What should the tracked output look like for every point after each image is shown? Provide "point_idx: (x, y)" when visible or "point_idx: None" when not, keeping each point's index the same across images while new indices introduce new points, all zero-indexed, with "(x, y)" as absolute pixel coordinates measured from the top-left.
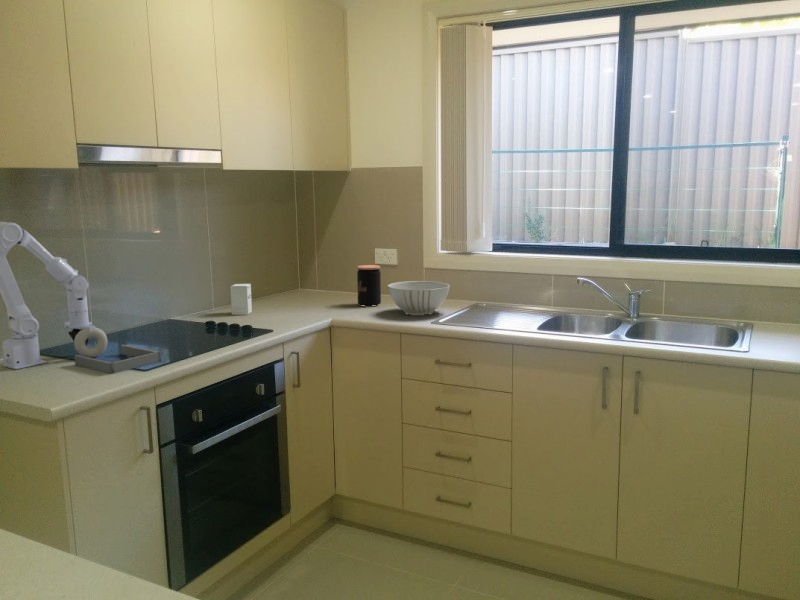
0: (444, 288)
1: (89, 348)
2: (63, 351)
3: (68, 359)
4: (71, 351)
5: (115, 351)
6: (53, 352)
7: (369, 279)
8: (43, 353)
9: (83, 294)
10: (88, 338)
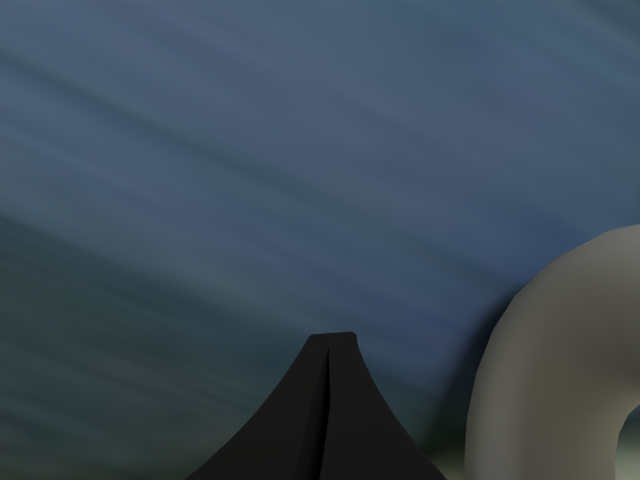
0: None
1: (614, 445)
2: (67, 371)
3: None
4: (113, 333)
5: (515, 3)
6: (55, 427)
7: None
8: (45, 474)
9: None
10: (411, 441)
